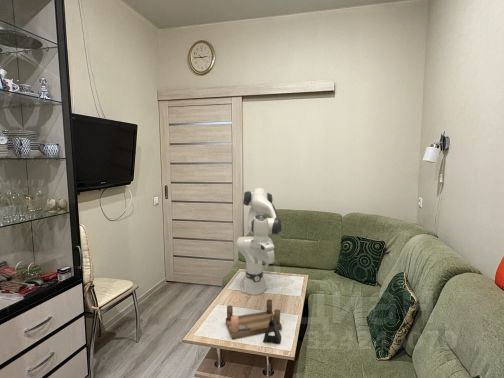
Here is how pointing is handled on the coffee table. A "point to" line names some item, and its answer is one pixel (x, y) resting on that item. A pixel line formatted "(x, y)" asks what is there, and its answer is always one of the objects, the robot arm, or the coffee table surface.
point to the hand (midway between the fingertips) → (261, 266)
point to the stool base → (254, 321)
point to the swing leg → (237, 324)
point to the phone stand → (277, 337)
